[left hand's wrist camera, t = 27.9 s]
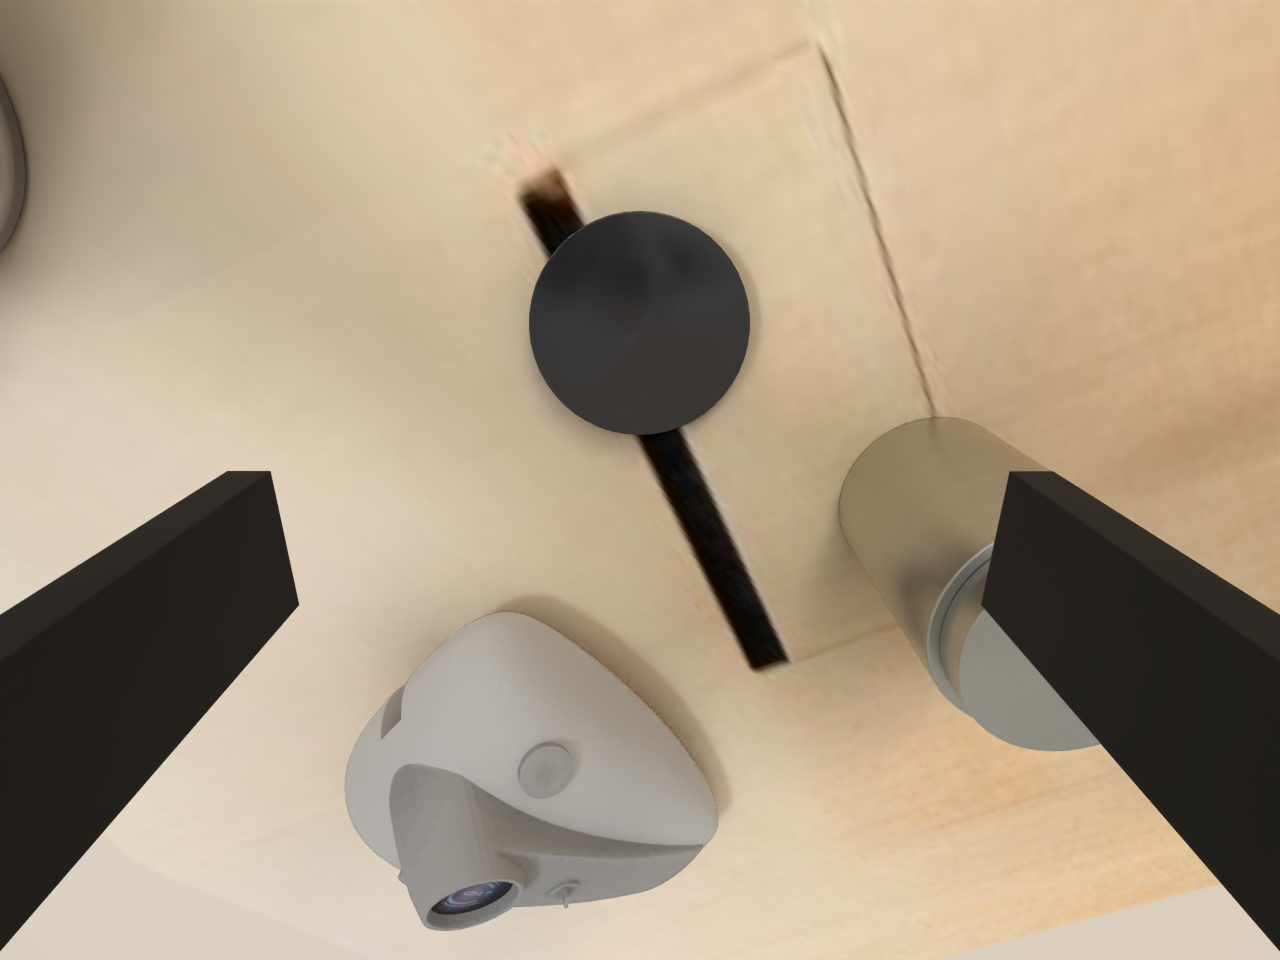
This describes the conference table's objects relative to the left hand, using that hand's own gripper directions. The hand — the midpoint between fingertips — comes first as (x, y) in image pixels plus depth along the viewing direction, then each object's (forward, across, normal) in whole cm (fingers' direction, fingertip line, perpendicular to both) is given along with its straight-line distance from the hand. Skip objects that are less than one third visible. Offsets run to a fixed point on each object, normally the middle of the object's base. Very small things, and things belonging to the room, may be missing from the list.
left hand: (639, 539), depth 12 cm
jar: (+26, +17, -10) cm, 32 cm away
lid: (+24, 0, 0) cm, 24 cm away
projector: (+26, -5, -28) cm, 38 cm away
